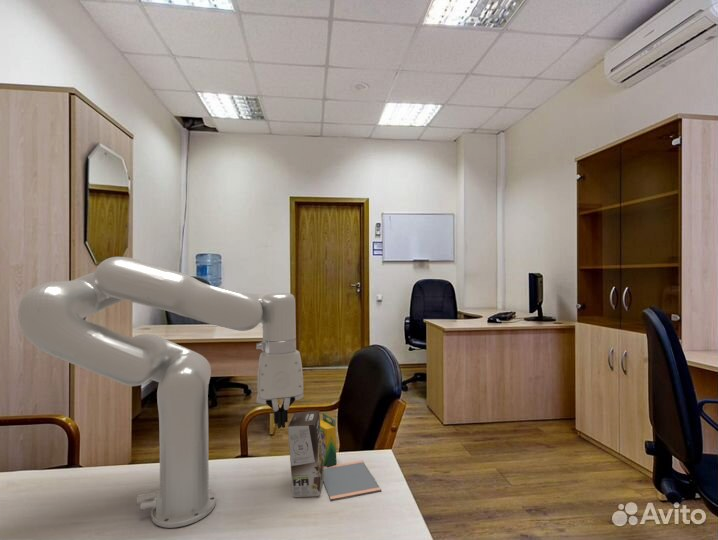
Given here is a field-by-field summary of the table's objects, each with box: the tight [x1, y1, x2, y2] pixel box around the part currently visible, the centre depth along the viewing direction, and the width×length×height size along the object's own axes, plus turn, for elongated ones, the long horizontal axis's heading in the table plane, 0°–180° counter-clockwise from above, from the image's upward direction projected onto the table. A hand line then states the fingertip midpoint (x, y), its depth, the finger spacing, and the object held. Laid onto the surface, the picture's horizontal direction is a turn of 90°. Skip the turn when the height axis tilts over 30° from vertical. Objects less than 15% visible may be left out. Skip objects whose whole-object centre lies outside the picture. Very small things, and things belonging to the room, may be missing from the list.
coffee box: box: [287, 410, 325, 498], centre depth 89 cm, size 9×6×16 cm
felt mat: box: [322, 460, 382, 502], centre depth 91 cm, size 12×14×1 cm
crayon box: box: [320, 412, 338, 467], centre depth 100 cm, size 7×3×12 cm, turn 33°
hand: (280, 425), depth 87 cm, fingers closed
